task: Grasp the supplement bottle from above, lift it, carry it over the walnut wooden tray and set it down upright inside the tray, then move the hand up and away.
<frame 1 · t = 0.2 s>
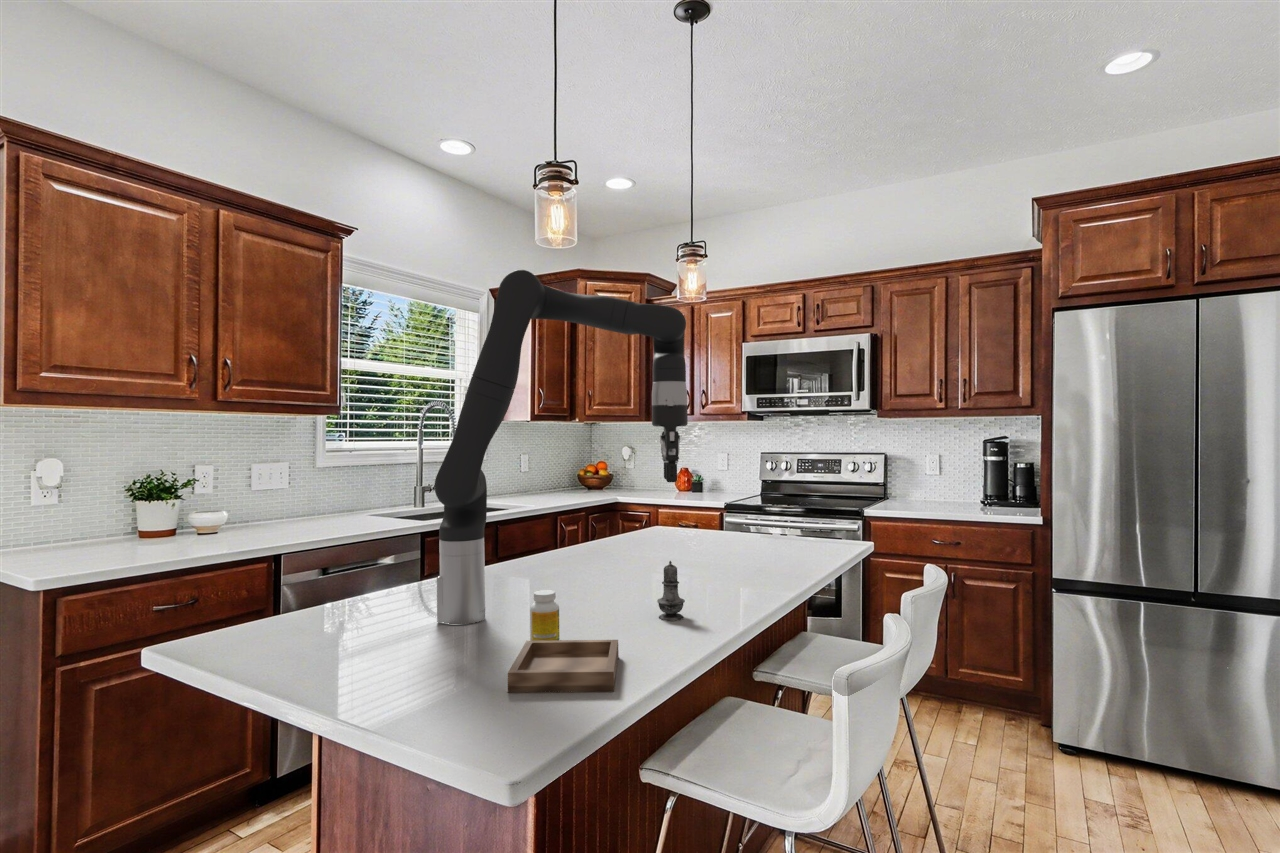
hand: (670, 480, 144), 29 cm above the countertop, tool pointing down, fingers open, 8 cm apart
tray: (567, 673, 111), on the countertop
salt shaker: (671, 618, 143), on the countertop
supplement bottle: (545, 644, 127), on the countertop
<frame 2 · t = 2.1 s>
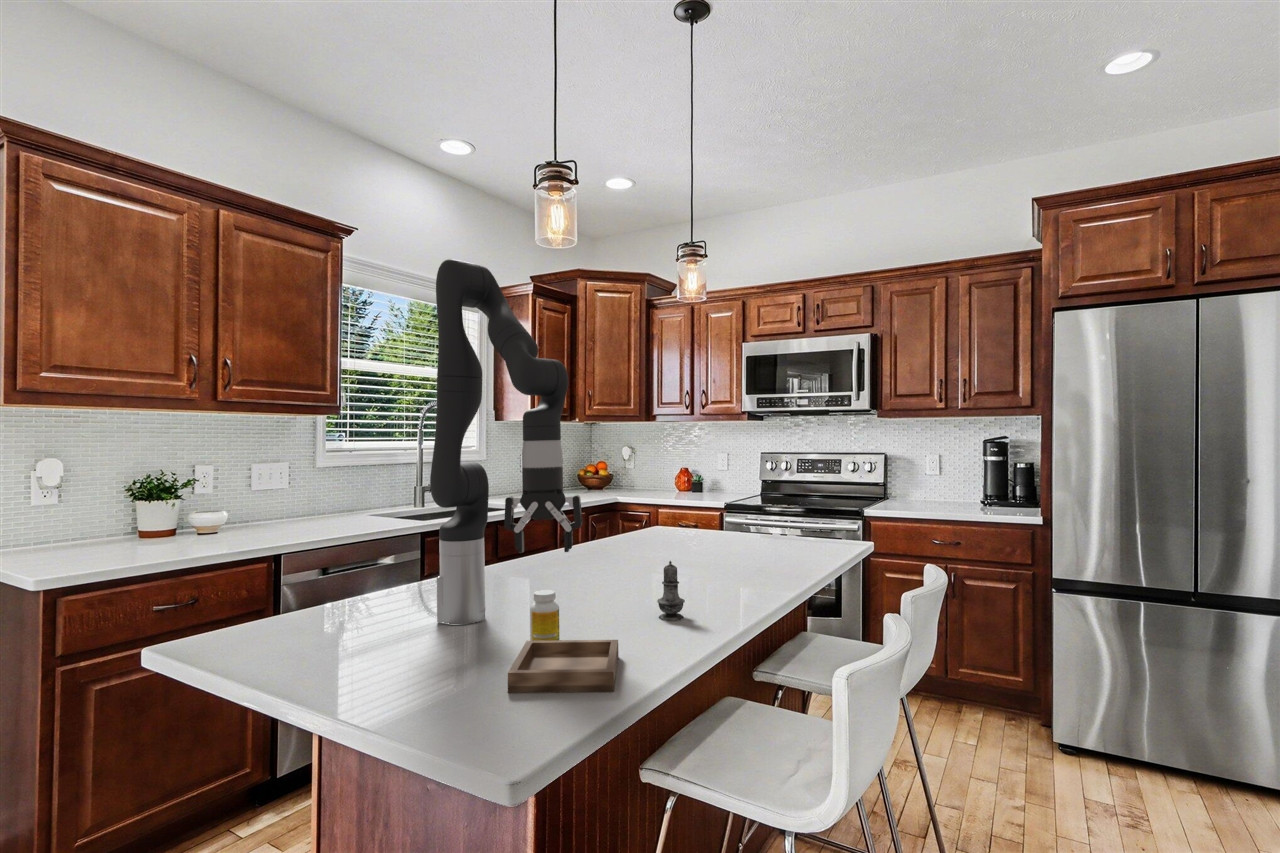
hand: (544, 552, 127), 17 cm above the countertop, tool pointing down, fingers open, 8 cm apart
nothing on the countertop moved.
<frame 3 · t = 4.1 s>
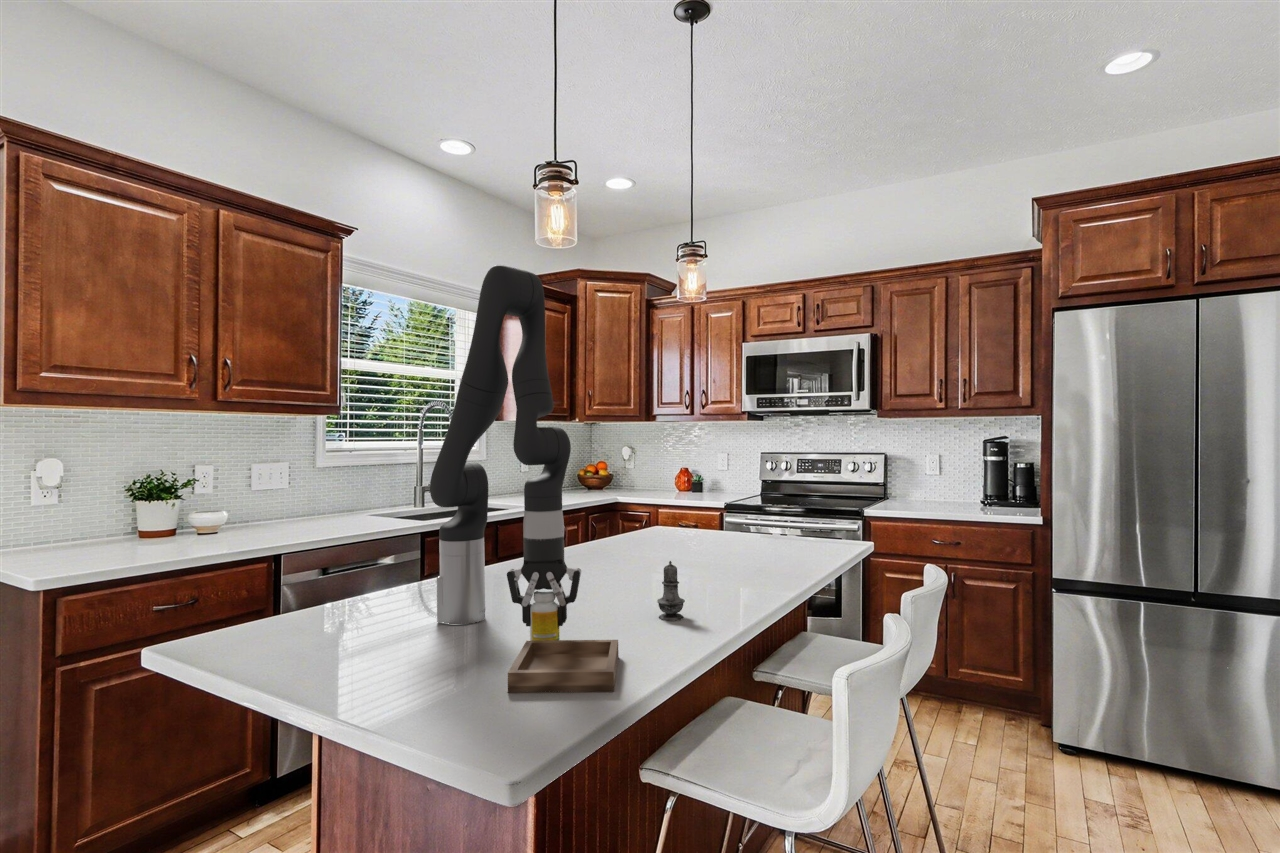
hand: (545, 624, 127), 3 cm above the countertop, tool pointing down, fingers closed on supplement bottle, 5 cm apart
supplement bottle: (545, 644, 127), on the countertop, touching gripper
everything else where it was.
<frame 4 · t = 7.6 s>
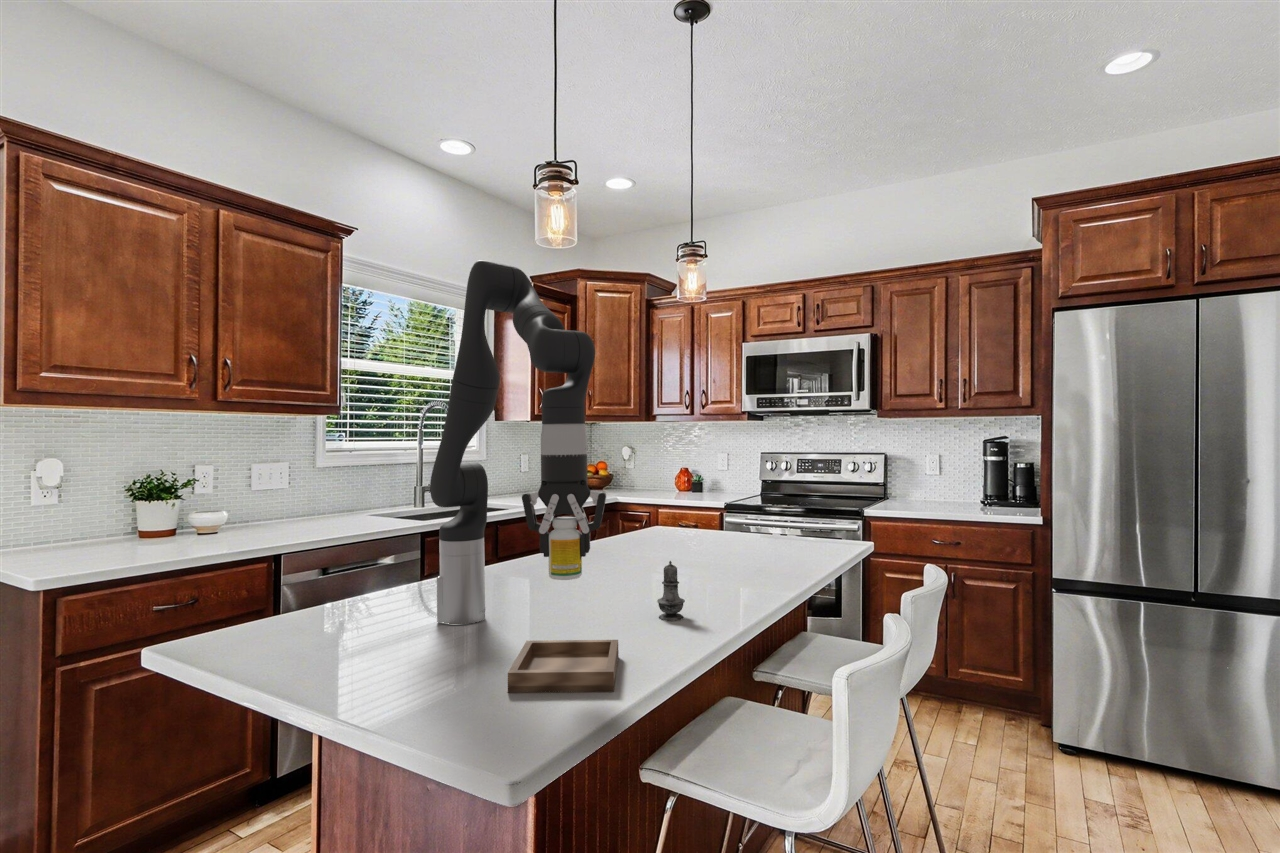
hand: (565, 555, 111), 19 cm above the countertop, tool pointing down, fingers closed on supplement bottle, 5 cm apart
supplement bottle: (565, 578, 111), point 15 cm above the countertop, touching gripper
everything else where it was.
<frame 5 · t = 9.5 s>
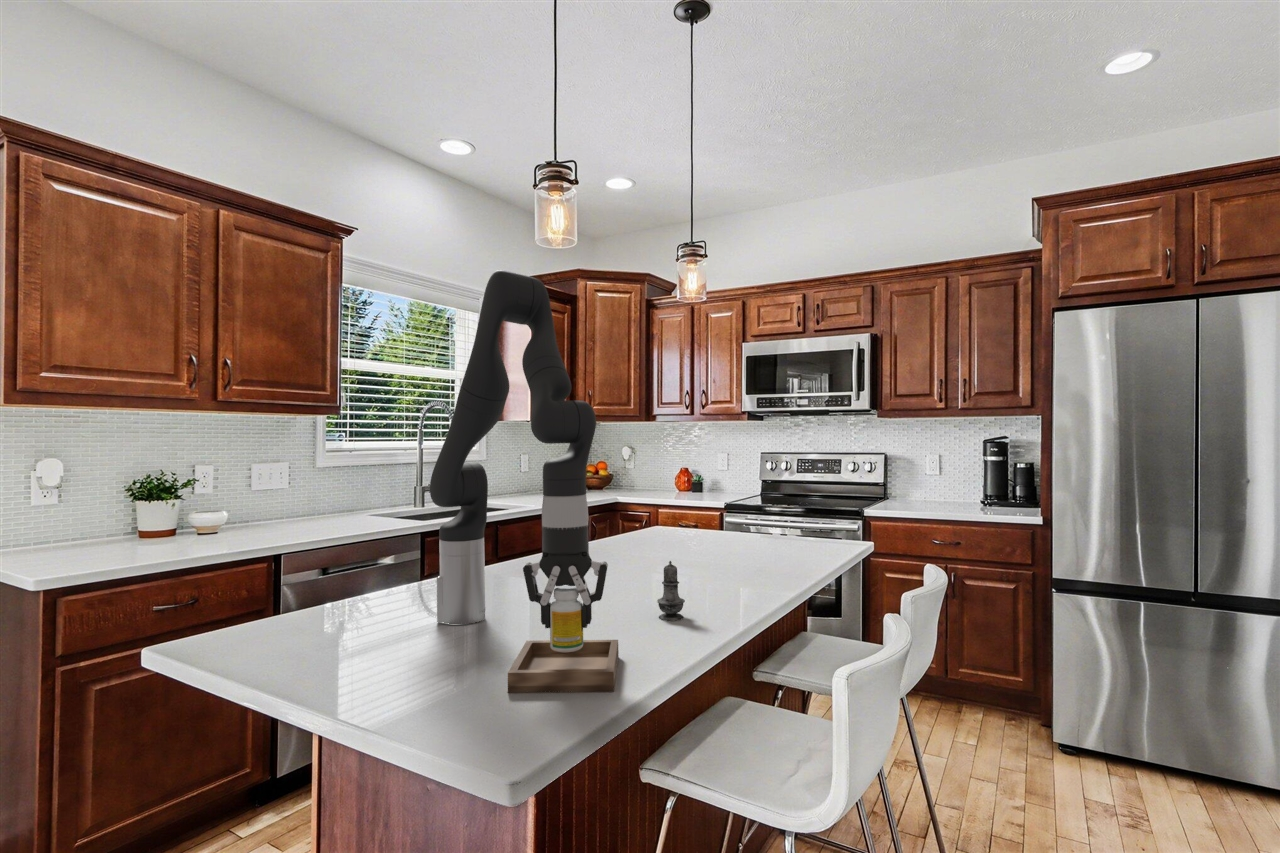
hand: (566, 626, 111), 8 cm above the countertop, tool pointing down, fingers closed on supplement bottle, 5 cm apart
supplement bottle: (567, 649, 111), point 4 cm above the countertop, touching gripper
everything else where it was.
when the fingers open (5 cm above the countertop, at t = 10.9 s): supplement bottle stays where it is, resting on tray.
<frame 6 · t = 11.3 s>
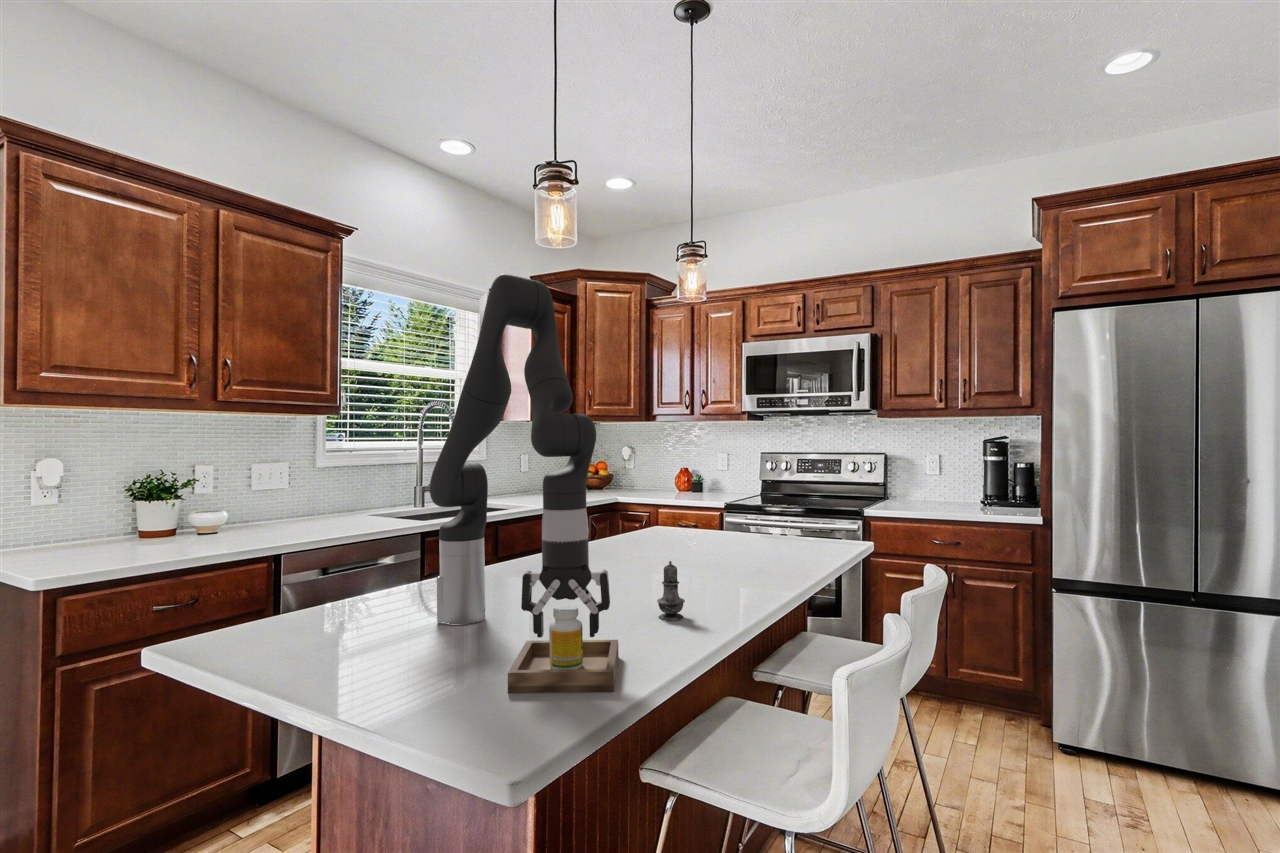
hand: (566, 636, 111), 6 cm above the countertop, tool pointing down, fingers open, 8 cm apart
supplement bottle: (566, 668, 111), point 1 cm above the countertop, touching tray
everything else where it was.
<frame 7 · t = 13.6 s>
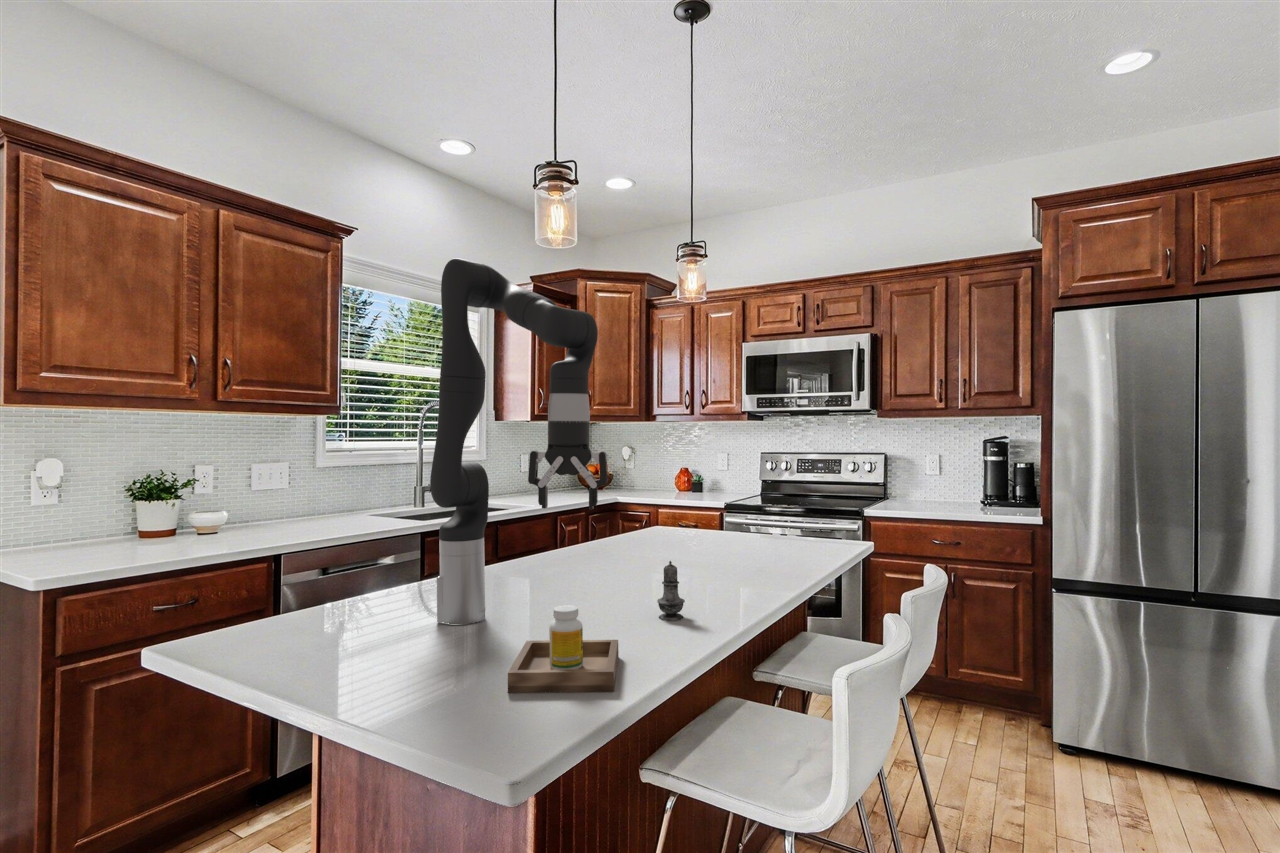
hand: (568, 508, 124), 25 cm above the countertop, tool pointing down, fingers open, 8 cm apart
nothing on the countertop moved.
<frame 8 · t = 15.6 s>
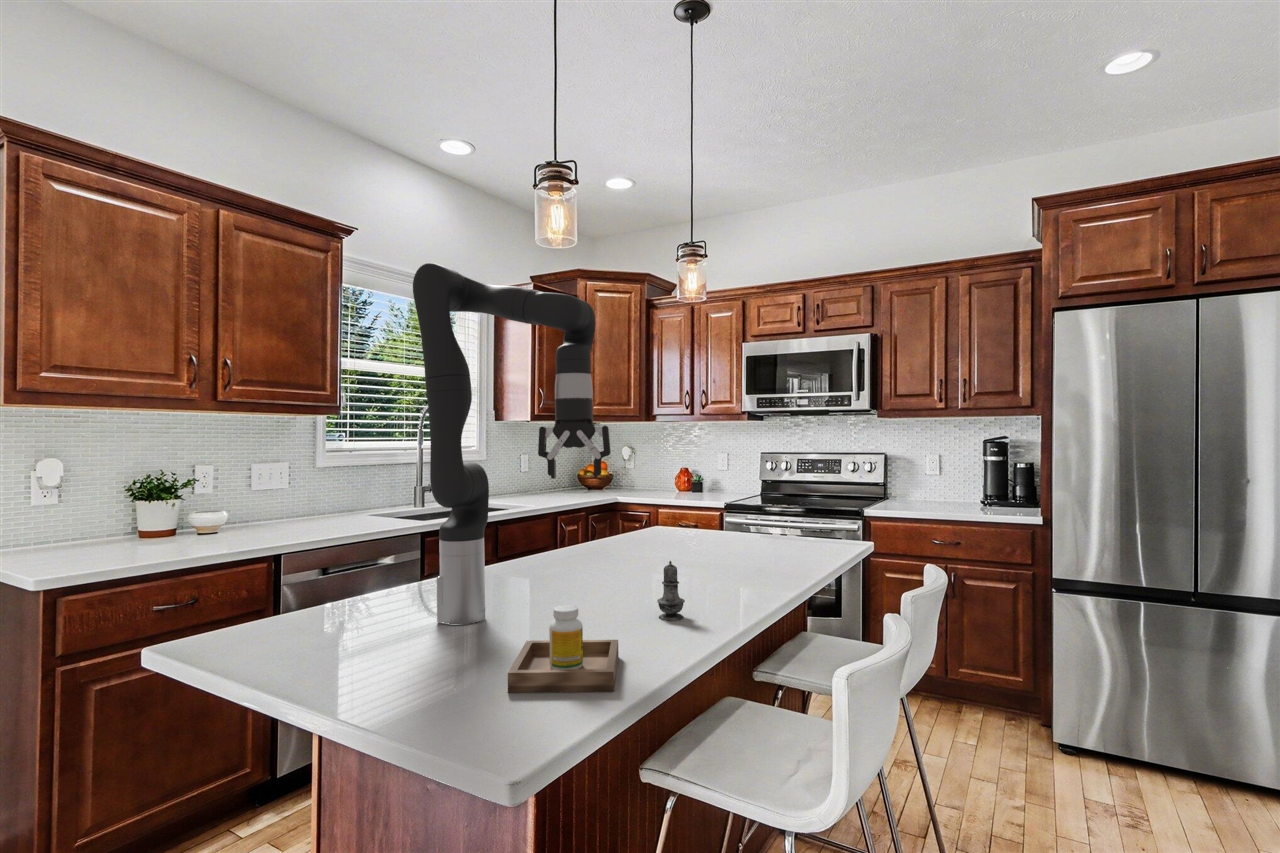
hand: (574, 478, 136), 30 cm above the countertop, tool pointing down, fingers open, 8 cm apart
nothing on the countertop moved.
at the end: supplement bottle inside the target area on the tray (0.1 cm from its centre), point 0.8 cm above the tray's base; supplement bottle tilted 0°; the gripper is holding nothing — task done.
